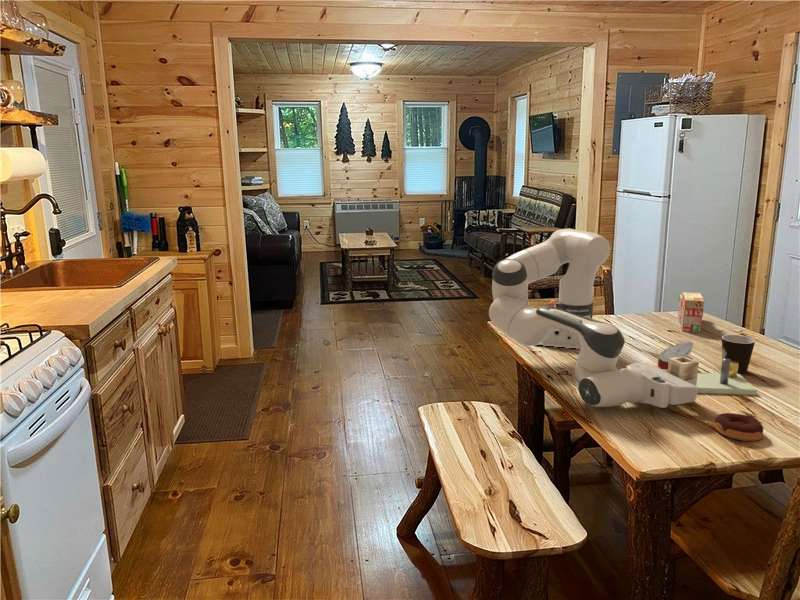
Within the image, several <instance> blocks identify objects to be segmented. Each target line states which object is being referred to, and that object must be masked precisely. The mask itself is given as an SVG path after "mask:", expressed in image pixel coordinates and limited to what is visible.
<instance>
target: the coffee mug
mask: <svg viewBox="0 0 800 600" xmlns="http://www.w3.org/2000/svg"><path fill="white" fill-rule="evenodd" d="M755 343H756V340H755V339H754V338H753V337H750V336H746V335H740V334H725V335H722V336H721V360H722V359H723V358H728V359H731V361H735V362H738V363H739V365H738V373H737V374H740V375H741V376H743V375H746V374H747V372H748V369H749V366H750V362H751V357H752V354H753V351H754V346H755Z"/></svg>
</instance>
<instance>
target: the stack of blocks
mask: <svg viewBox="0 0 800 600" xmlns="http://www.w3.org/2000/svg"><path fill="white" fill-rule="evenodd" d="M678 299H679V300H678V313H677V318H678V322H679V324H680V328H681V332H682V333H683V332H685V333H697V334H698V333H701V332H702V323H703V315H704V307H705V300H704V297H703V296H702V294H701V292H685V291H684V292H682V294H679V298H678Z"/></svg>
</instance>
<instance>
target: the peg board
mask: <svg viewBox="0 0 800 600" xmlns="http://www.w3.org/2000/svg"><path fill="white" fill-rule="evenodd" d="M720 375H721V372H698V374H697V384H696V386H697V394H718V395H719V394H720V395H721V394H723V395H741V396H742V395H743V396H744V395H747V396H748V395H749V396H757V395H758V389H757V387H755V386H754V385H753V384H751V383H750V382H749V381H748V380H747V379H745V378H744V377H743V375H740V374H737V378H728V384H727V385H724V384H720Z"/></svg>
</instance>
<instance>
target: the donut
mask: <svg viewBox="0 0 800 600" xmlns="http://www.w3.org/2000/svg"><path fill="white" fill-rule="evenodd" d="M713 424H714V425H713V427H714V429H715V430H716V431H717V432H718V433H720V434H721V435H723V436H725V437H727V438H730V439H734V440H739V441H745V442H757V441H759V440H761V439H762V438H763V437H764V428H765V427H764V426H763V424H762V423H761V421H759V420H758V419H757V418H755V417H753V416H751V415H746V414H739V413H731V412H725V413H724V412H723V413H720V414H719V413H718V415H717V416H716V417H715V419H714V423H713Z"/></svg>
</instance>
